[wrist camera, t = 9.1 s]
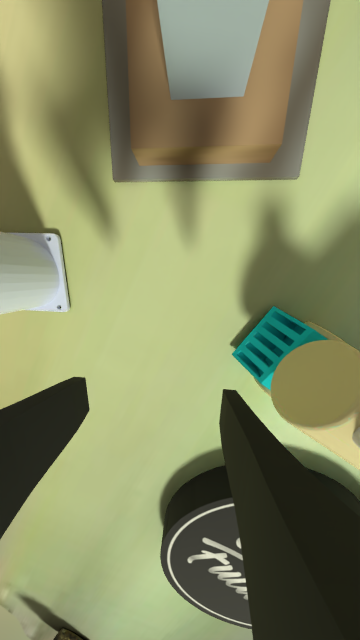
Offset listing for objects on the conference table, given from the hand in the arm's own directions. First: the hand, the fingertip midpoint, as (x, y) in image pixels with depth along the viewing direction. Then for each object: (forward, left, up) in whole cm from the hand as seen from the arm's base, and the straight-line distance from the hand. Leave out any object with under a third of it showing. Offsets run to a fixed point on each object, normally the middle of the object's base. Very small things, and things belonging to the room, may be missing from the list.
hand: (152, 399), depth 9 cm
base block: (+2, +21, -10) cm, 24 cm away
